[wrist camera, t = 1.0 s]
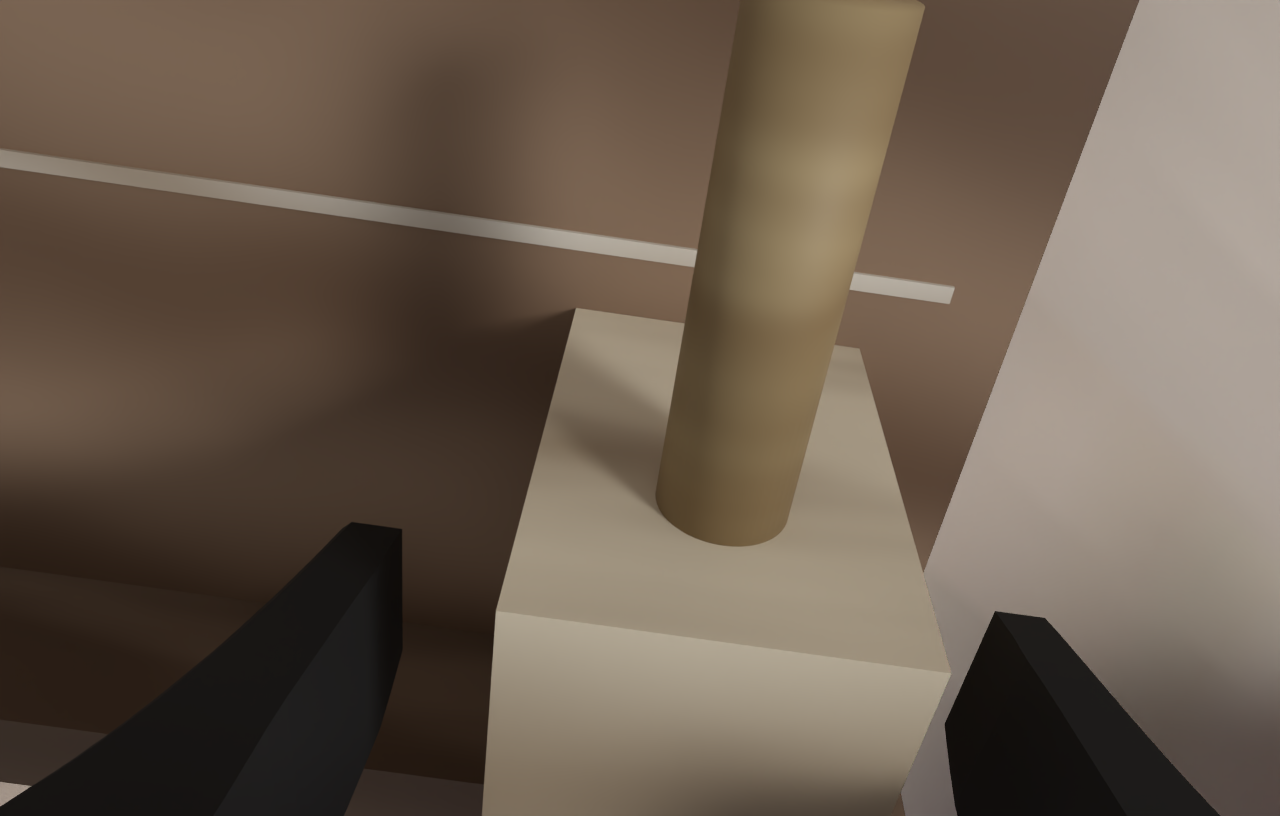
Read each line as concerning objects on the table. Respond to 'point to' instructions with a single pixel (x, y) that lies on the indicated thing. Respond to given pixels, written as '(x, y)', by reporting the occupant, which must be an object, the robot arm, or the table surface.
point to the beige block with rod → (730, 490)
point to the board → (420, 305)
